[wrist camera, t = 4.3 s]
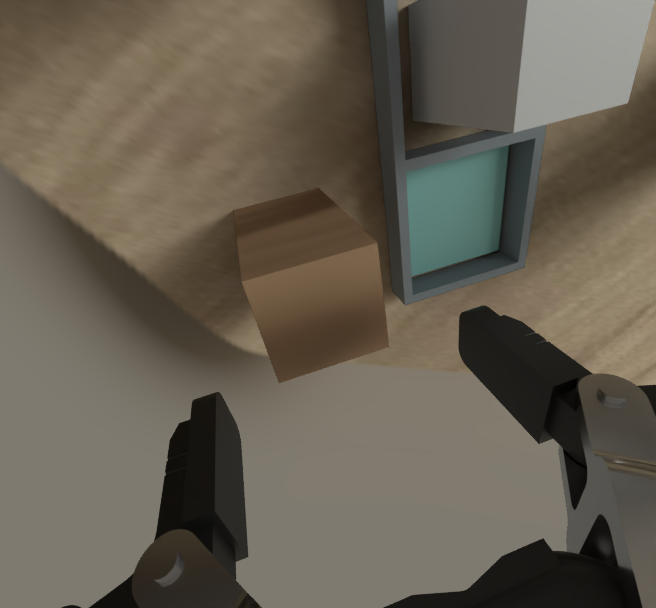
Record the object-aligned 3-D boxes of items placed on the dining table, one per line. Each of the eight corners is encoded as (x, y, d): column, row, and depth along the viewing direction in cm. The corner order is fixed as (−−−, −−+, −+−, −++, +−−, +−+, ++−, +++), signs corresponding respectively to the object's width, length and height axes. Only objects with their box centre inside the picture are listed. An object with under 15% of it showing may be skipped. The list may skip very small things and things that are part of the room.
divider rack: (361, -48, 15) (471, -160, 9) (544, -80, 16) (766, -202, 10) (392, 291, 25) (455, 361, 18) (505, 256, 26) (602, 311, 19)
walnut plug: (233, 210, 19) (241, 281, 12) (318, 188, 20) (377, 242, 12) (259, 286, 22) (278, 383, 15) (333, 264, 23) (388, 346, 15)
